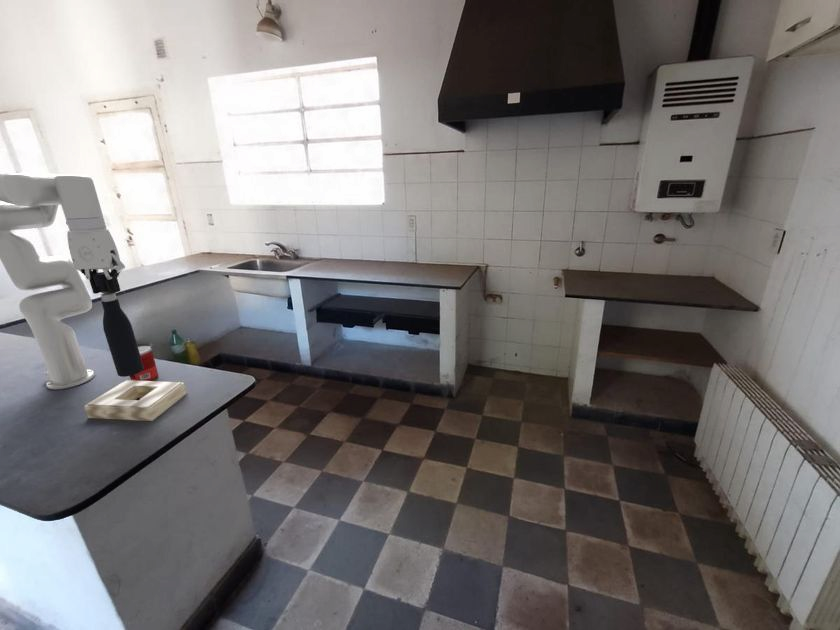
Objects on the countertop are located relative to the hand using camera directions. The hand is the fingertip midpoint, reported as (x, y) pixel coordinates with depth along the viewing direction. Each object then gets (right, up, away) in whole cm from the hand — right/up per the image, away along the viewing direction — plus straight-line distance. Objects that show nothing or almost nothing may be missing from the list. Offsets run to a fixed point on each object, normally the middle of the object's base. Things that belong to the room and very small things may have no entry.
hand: (107, 291), depth 106 cm
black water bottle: (0, -24, +8) cm, 25 cm away
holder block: (0, -34, +12) cm, 36 cm away
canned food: (-10, -29, +28) cm, 41 cm away
